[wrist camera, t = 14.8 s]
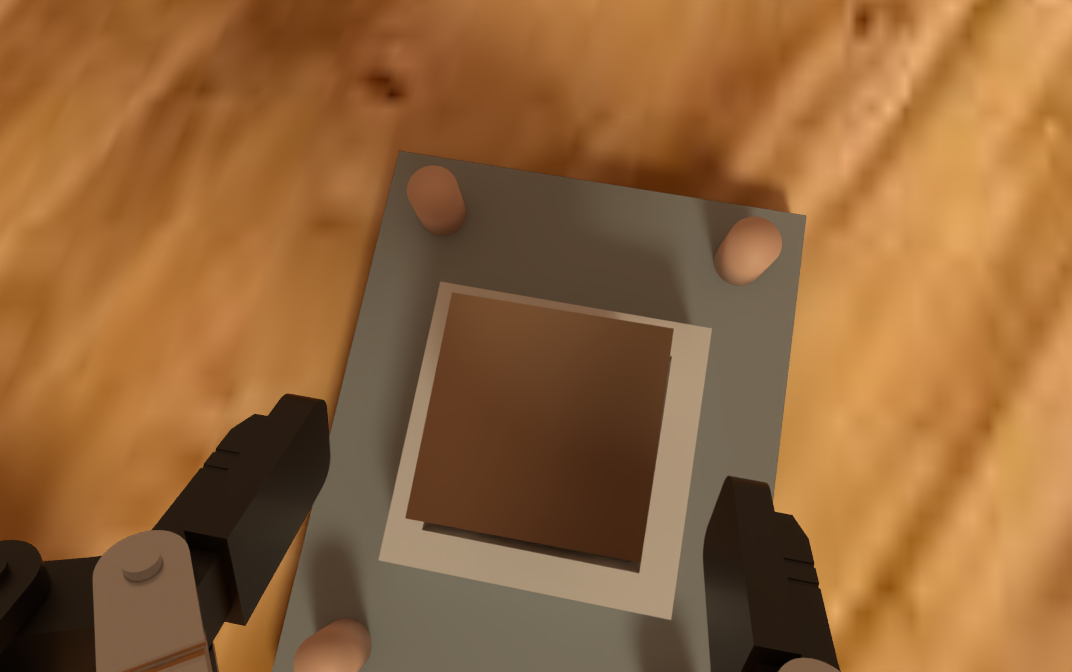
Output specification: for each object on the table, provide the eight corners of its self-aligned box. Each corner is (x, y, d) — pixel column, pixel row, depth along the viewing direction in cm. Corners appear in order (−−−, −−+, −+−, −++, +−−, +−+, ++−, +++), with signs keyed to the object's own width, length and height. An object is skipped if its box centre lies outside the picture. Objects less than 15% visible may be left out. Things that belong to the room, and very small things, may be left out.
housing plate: (280, 691, 22) (223, 734, 18) (406, 165, 25) (380, 113, 21) (727, 789, 21) (762, 856, 17) (794, 228, 24) (835, 183, 20)
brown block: (476, 499, 21) (405, 518, 12) (500, 374, 22) (452, 292, 12) (604, 523, 21) (641, 562, 11) (623, 395, 22) (673, 328, 12)
